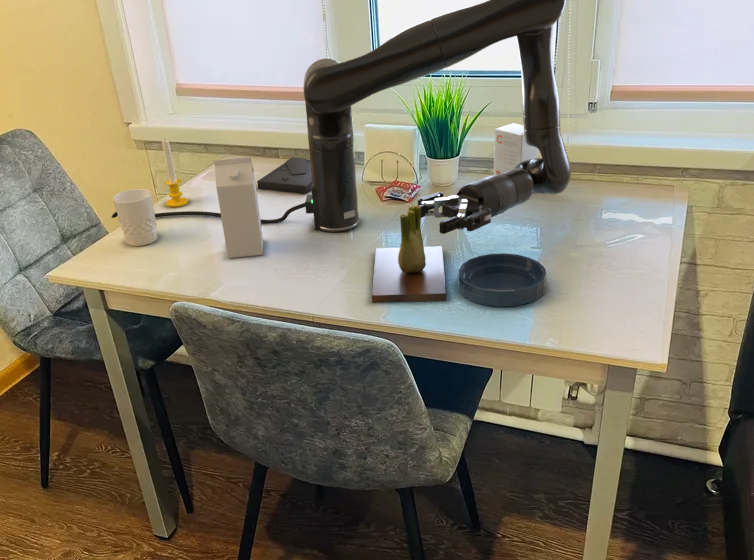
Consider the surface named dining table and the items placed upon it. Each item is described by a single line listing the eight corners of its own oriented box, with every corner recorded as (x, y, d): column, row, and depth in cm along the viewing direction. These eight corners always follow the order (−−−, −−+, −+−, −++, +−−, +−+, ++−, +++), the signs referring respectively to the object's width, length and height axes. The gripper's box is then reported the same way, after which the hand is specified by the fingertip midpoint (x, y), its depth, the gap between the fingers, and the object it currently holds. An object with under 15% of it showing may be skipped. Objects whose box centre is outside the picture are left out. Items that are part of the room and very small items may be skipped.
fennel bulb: (404, 278, 142) (402, 216, 135) (391, 268, 146) (389, 207, 139) (432, 270, 144) (431, 208, 137) (418, 261, 148) (417, 200, 141)
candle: (192, 201, 187) (180, 135, 178) (177, 208, 183) (164, 142, 174) (176, 198, 189) (164, 133, 180) (161, 205, 186) (148, 139, 177)
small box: (537, 185, 181) (541, 128, 174) (518, 192, 178) (522, 135, 171) (510, 177, 187) (513, 122, 179) (492, 184, 183) (494, 128, 176)
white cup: (167, 235, 170) (158, 190, 165) (145, 249, 164) (135, 204, 159) (138, 230, 173) (128, 187, 168) (116, 245, 167) (104, 200, 162)
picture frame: (292, 165, 204) (257, 188, 191) (291, 157, 203) (256, 179, 190) (338, 169, 199) (306, 193, 186) (337, 161, 198) (305, 184, 185)
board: (372, 302, 138) (371, 295, 137) (376, 255, 155) (375, 248, 154) (446, 301, 137) (446, 293, 136) (442, 253, 154) (442, 246, 153)
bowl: (460, 309, 134) (461, 292, 133) (456, 270, 147) (456, 254, 145) (550, 306, 133) (552, 290, 131) (538, 268, 146) (539, 252, 144)
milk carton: (229, 244, 164) (215, 154, 153) (263, 241, 164) (251, 151, 153) (227, 258, 158) (212, 166, 147) (263, 255, 158) (250, 162, 147)
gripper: (460, 170, 152) (398, 192, 144) (516, 187, 143) (452, 212, 135) (460, 207, 156) (399, 230, 149) (514, 226, 147) (452, 252, 139)
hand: (424, 222), depth 142 cm, fingers open, 8 cm apart
